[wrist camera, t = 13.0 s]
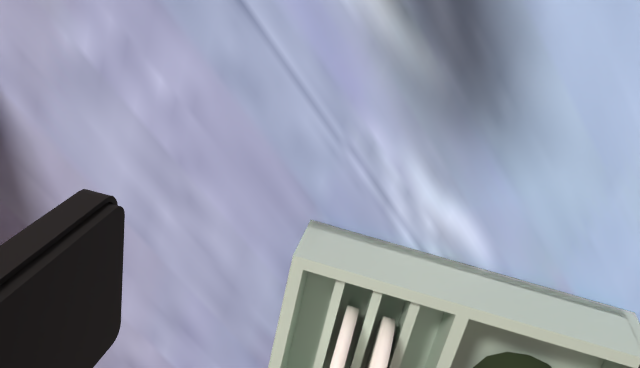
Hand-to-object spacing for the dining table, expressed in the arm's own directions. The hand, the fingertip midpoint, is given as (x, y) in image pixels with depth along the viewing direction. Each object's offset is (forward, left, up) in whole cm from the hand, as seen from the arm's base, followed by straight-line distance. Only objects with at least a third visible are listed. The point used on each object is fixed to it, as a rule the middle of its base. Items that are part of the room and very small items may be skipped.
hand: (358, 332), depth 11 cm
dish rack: (-6, +21, -28) cm, 35 cm away
